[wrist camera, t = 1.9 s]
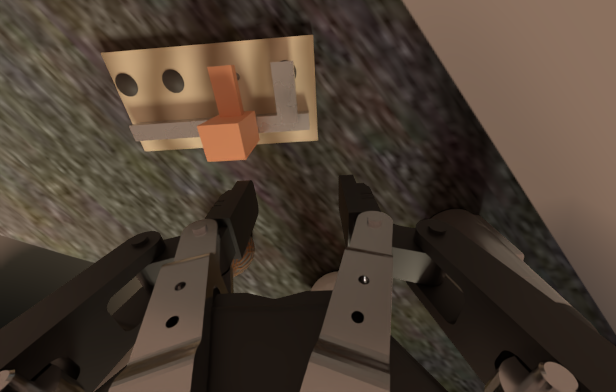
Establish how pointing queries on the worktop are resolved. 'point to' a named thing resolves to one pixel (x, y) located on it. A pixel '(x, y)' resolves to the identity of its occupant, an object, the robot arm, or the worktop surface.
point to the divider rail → (270, 122)
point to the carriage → (228, 120)
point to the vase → (244, 259)
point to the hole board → (198, 89)
